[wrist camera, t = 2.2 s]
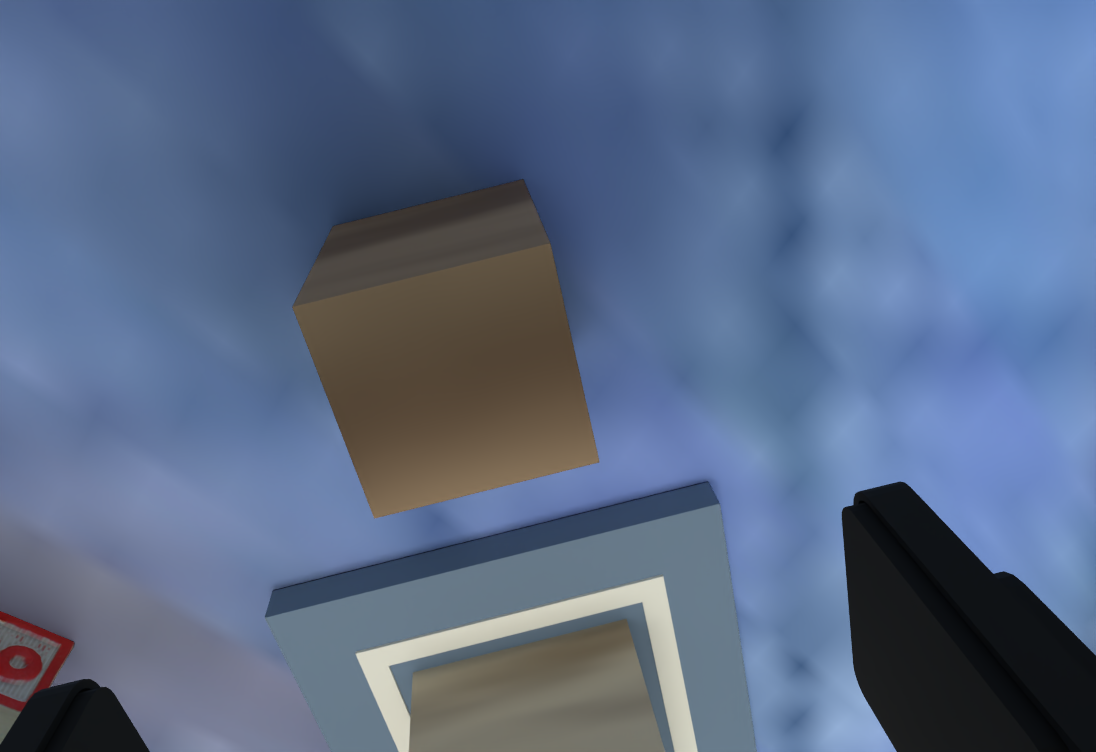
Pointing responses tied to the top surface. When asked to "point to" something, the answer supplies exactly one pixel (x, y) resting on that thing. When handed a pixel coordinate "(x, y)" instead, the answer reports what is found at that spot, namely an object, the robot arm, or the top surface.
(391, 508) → the walnut block
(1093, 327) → the top surface
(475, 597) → the board
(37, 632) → the stack of blocks
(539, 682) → the maple base block
